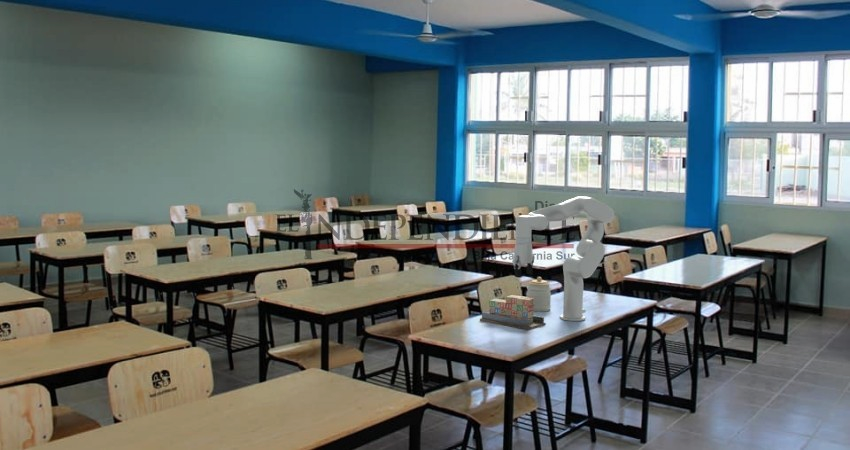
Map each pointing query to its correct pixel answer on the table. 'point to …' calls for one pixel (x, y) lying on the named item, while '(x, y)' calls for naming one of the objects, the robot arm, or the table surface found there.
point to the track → (513, 321)
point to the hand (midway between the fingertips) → (523, 275)
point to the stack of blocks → (513, 307)
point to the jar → (540, 294)
